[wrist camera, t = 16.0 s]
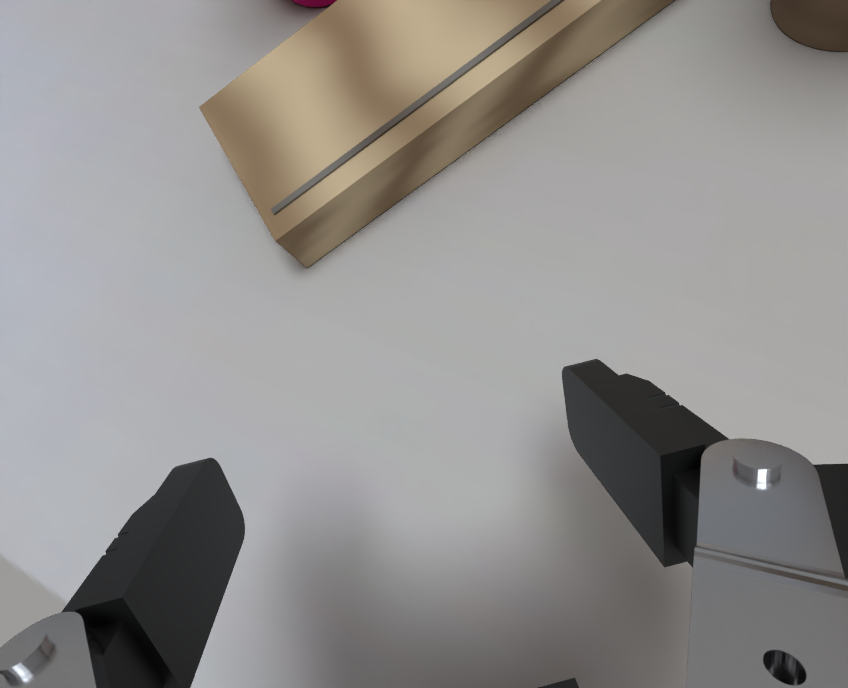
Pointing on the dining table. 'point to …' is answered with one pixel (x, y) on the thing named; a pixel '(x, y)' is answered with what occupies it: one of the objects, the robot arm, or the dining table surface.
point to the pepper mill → (315, 2)
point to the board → (394, 100)
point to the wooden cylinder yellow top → (814, 22)
